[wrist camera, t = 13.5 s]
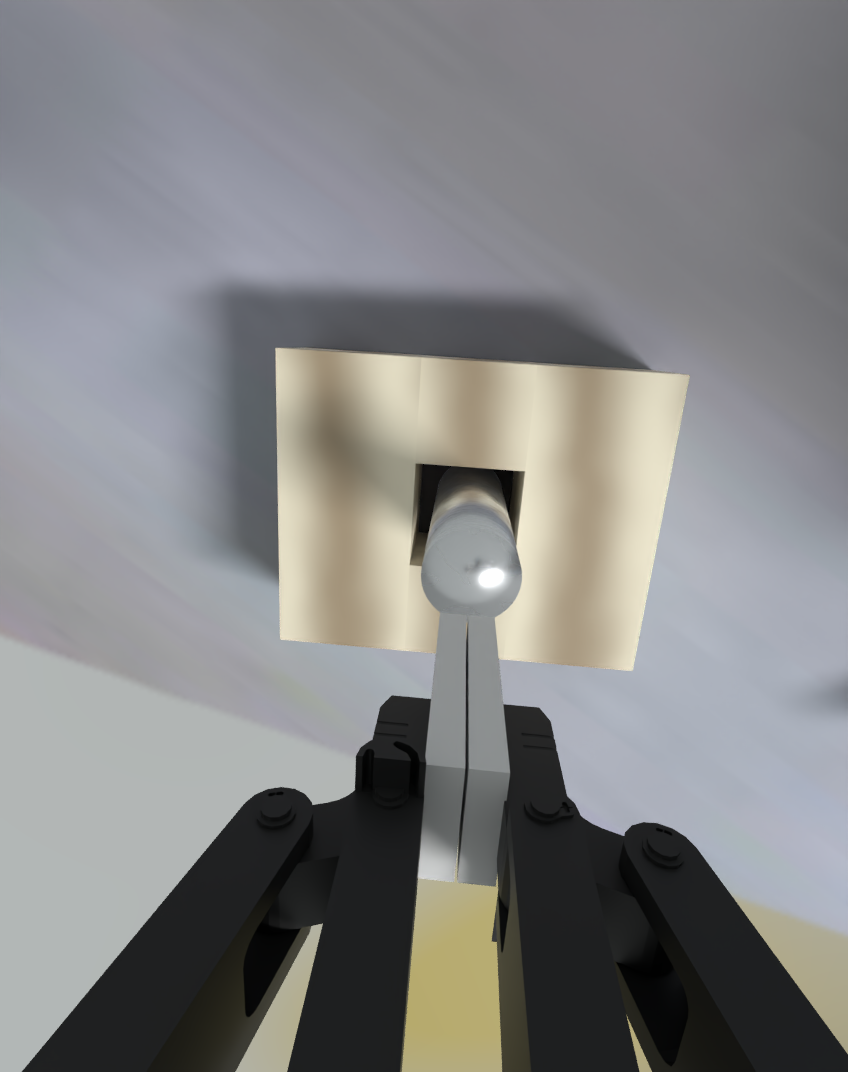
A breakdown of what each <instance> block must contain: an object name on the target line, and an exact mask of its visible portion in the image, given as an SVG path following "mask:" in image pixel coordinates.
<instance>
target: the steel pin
mask: <svg viewBox="0 0 848 1072" xmlns="http://www.w3.org/2000/svg"><path fill="white" fill-rule="evenodd" d="M421 582H422V587H423V591H424V593H425V595H426V597H427V599H428V600H429V602H430V603H431V604H432V605H433V607H434V608H435V609H437V610H438V611H439V612H440V613H452V614H463V615H466V622H467V623H468V615H475V616H487V617H497V616H498V615H500V614H502V613H503V612H504V611H505V610H507V609H508V608H509V607H510V606H511V605H512V603H513V602H514V600H515V599H516V597H517V595H518V593H519V591H520V588H521V583H522V568H521V564H520V560H519V556H518V552H517V548H516V544H515V540H514V536H513V532H512V527H511V523H510V519H509V515H508V511H507V507H506V503H505V499H504V495H503V491H502V487H501V483H500V480H499V478H498V476H497V475H496V473H495V472H494V471H493V470H492V469H486V468H473V467H459V466H452V467H450V468H449V469H448V470H447V471H446V472H445V473H444V474H443V476H442V478H441V479H440V482H439V485H438V489H437V494H436V499H435V504H434V509H433V514H432V519H431V524H430V529H429V534H428V539H427V543H426V548H425V553H424V558H423V563H422V569H421Z"/></svg>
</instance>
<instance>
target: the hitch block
mask: <svg viewBox="0 0 848 1072" xmlns="http://www.w3.org/2000/svg"><path fill="white" fill-rule="evenodd" d="M275 350H276V412H277V475H278V537H279V599H280V640H292V641H303V642H314V643H325V644H336V645H348V646H359V647H370V648H381V649H392V650H403V651H415V652H426V653H436V647H437V637H438V628H439V618H440V612H439V611H438V610H437V609H435V608H434V607H433V605H432V604H431V603H430V602H429V600H428V599H427V597H426V595H425V593H424V591H423V587H422V582H421V569H422V563H423V558H424V553H425V548H426V543H427V539H428V534H429V533H423V532H418V530H419V513H420V497H421V480H422V464H432V465H446V466H459V467H473V468H486V469H500V470H513V471H514V474H513V483H512V492H511V501H510V510H509V519H510V523H511V527H512V532H513V536H514V540H515V544H516V548H517V552H518V556H519V560H520V564H521V568H522V583H521V588H520V591H519V593H518V595H517V597H516V599H515V600H514V602H513V603H512V605H511V606H510V607H509V608H508V609H507V610H505V611H504V612H503V613H502V614H500V615H498V616H497V617H495V626H496V636H497V646H498V656H499V659H504V660H515V661H526V662H538V663H549V664H560V665H571V666H582V667H593V668H605V669H616V670H627V671H633V666H634V661H635V656H636V650H637V645H638V640H639V635H640V630H641V625H642V619H643V614H644V609H645V604H646V599H647V594H648V589H649V583H650V578H651V573H652V568H653V563H654V558H655V552H656V547H657V542H658V537H659V532H660V527H661V521H662V516H663V511H664V506H665V501H666V496H667V491H668V485H669V480H670V475H671V470H672V465H673V460H674V454H675V449H676V444H677V439H678V434H679V429H680V424H681V418H682V413H683V408H684V403H685V398H686V393H687V387H688V382H689V377H690V375H686V374H678V373H671V372H663V371H656V370H643V369H628V368H613V367H598V366H582V365H567V364H552V363H536V362H521V361H506V360H490V359H475V358H460V357H444V356H429V355H414V354H398V353H383V352H368V351H353V350H337V349H322V348H275ZM467 625H468V623H467V622H466V635H467Z"/></svg>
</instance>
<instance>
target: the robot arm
mask: <svg viewBox="0 0 848 1072" xmlns="http://www.w3.org/2000/svg"><path fill="white" fill-rule="evenodd" d="M457 847H458V874H457V877H458V878H457V882H458V883H468V884H477V885H487V886H495V885H496V879H497V873H498V897H497V906H496V913H495V920H494V928H493V935H492V941H493V942H497V953H498V976H499V977H498V978H499V1002H500V1026H501V1048H502V1072H639V1068H638V1064H637V1060H636V1055H635V1051H634V1046H633V1042H632V1038H631V1033H630V1029H629V1025H628V1021H627V1016H628V1019H629V1021H630V1023H631V1026H632V1028H633V1030H634V1032H635V1034H636V1037H637V1039H638V1041H639V1043H640V1046H641V1048H642V1050H643V1052H644V1055H645V1057H646V1059H647V1061H648V1063H649V1066H650V1068H651V1070H652V1072H848V1054H847V1053H846V1051H845V1050H844V1049H843V1047H842V1046H841V1045H840V1043H839V1042H838V1040H837V1039H836V1038H835V1036H834V1035H833V1034H832V1032H831V1031H830V1029H829V1028H828V1027H827V1025H826V1024H825V1023H824V1021H823V1020H822V1019H821V1017H820V1016H819V1014H818V1013H817V1012H816V1010H815V1009H814V1008H813V1006H812V1005H811V1004H810V1002H809V1001H808V999H807V998H806V997H805V995H804V994H803V993H802V991H801V990H800V989H799V987H798V986H797V984H796V983H795V982H794V980H793V979H792V978H791V976H790V975H789V973H788V972H787V971H786V969H785V968H784V967H783V966H782V964H781V963H780V961H779V960H778V958H777V957H776V956H775V955H774V953H773V952H772V950H771V949H770V948H769V946H768V945H767V943H766V942H765V941H764V939H763V938H762V937H761V935H760V934H759V933H758V931H757V930H756V929H755V927H754V926H753V924H752V923H751V922H750V921H749V919H748V918H747V916H746V915H745V913H744V912H743V911H742V909H741V908H740V907H739V905H738V904H737V903H736V901H735V900H734V898H733V897H732V896H731V894H730V893H729V892H728V890H727V889H726V888H725V886H724V885H723V883H722V882H721V881H720V879H719V878H718V877H717V875H716V874H715V872H714V871H713V870H712V868H711V867H710V866H709V864H708V863H707V862H706V860H705V859H704V857H703V856H702V855H701V853H700V852H699V851H698V849H697V848H696V847H695V846H694V845H693V844H692V843H691V842H690V841H689V840H688V839H687V838H686V837H685V836H683V835H682V834H680V833H679V832H677V831H675V830H674V829H672V828H669V827H666V826H663V825H661V824H658V823H645V822H643V823H639V824H636V825H632V826H631V827H630V828H629V829H628V830H627V831H626V832H625V836H622V835H619V834H616V833H613V832H610V831H608V830H605V829H602V828H600V827H598V826H596V825H593V824H592V823H590V822H588V821H587V820H585V819H584V818H583V817H581V816H580V813H579V811H578V809H577V807H576V805H575V803H574V802H573V801H572V800H570V799H569V798H568V797H567V794H566V789H565V785H564V780H563V776H562V771H561V767H560V762H559V758H558V753H557V751H556V744H555V740H554V735H553V731H552V726H551V722H550V720H549V719H548V718H547V717H546V715H545V714H544V713H543V712H542V711H541V709H540V708H537V707H526V706H515V705H504V704H503V696H502V686H501V676H500V666H499V656H498V646H497V636H496V626H495V617H487V616H475V615H468V625H467V635H466V615H463V614H452V613H440V618H439V628H438V637H437V647H436V657H435V667H434V676H433V686H432V696H431V699H424V698H413V697H402V696H391V697H390V698H389V699H388V700H387V701H386V702H385V703H384V704H383V705H382V706H381V707H380V711H379V715H378V719H377V724H376V727H375V732H374V736H373V740H371V741H369V742H368V743H366V744H365V745H364V746H362V747H361V748H360V750H359V752H358V753H357V755H356V778H355V791H354V792H352V793H351V794H350V795H348V796H346V797H344V798H342V799H340V800H337V801H333V802H329V803H323V804H317V805H312V802H311V801H310V800H309V798H308V797H307V796H306V795H305V794H304V793H302V792H300V791H298V790H296V789H291V788H282V787H280V788H273V789H267V790H265V791H263V792H260V793H258V794H256V795H254V796H253V797H252V798H251V799H250V800H248V801H247V802H246V803H245V804H244V805H243V806H242V807H241V809H240V810H239V811H238V812H237V813H236V815H235V816H234V817H233V819H231V821H230V822H229V823H228V824H227V825H226V827H225V828H224V829H223V830H222V831H221V833H220V834H219V835H218V836H217V837H216V839H215V840H214V841H213V842H212V844H211V845H210V846H209V847H208V848H207V849H206V851H205V852H204V853H203V854H202V855H201V857H200V858H199V859H198V860H197V862H196V863H195V864H194V865H193V866H192V868H191V869H190V870H189V871H188V873H187V874H186V875H185V876H184V877H183V878H182V880H181V881H180V882H179V883H178V885H177V886H176V887H175V888H174V889H173V890H172V892H171V893H170V894H169V895H168V896H167V898H166V899H165V900H164V901H163V902H162V904H161V905H160V906H159V907H158V908H157V910H156V911H155V912H154V913H153V914H152V916H151V917H150V918H149V919H148V921H147V922H146V923H145V924H144V925H143V927H142V928H141V929H140V930H139V931H138V933H137V934H136V935H135V936H134V937H133V939H132V940H131V941H130V942H129V943H128V945H127V946H126V947H125V949H123V951H122V952H121V953H120V954H119V956H118V957H117V958H116V959H115V960H114V961H113V963H112V964H111V965H110V966H109V967H108V969H107V970H106V971H105V972H104V974H103V975H102V976H101V977H100V978H99V980H98V981H97V982H96V983H95V984H94V986H93V987H92V988H91V989H90V990H89V992H88V993H87V994H86V995H85V997H84V998H83V999H82V1000H81V1001H80V1002H79V1004H78V1005H77V1006H76V1007H75V1009H74V1010H73V1011H72V1012H71V1013H70V1014H69V1016H68V1017H67V1018H66V1019H65V1020H64V1022H63V1023H62V1024H61V1025H60V1027H59V1028H58V1029H57V1030H56V1031H55V1033H54V1034H53V1035H52V1036H51V1037H50V1039H49V1040H48V1041H47V1042H46V1043H45V1045H44V1046H43V1047H42V1048H41V1049H40V1051H39V1052H38V1053H37V1054H36V1055H35V1057H34V1058H33V1059H32V1060H31V1061H30V1063H29V1064H28V1065H27V1066H26V1067H25V1069H24V1070H23V1071H22V1072H235V1071H236V1069H237V1068H238V1066H239V1064H240V1062H241V1060H242V1058H243V1056H244V1054H245V1052H246V1051H247V1049H248V1047H249V1045H250V1043H251V1041H252V1039H253V1037H254V1036H255V1034H256V1032H257V1030H258V1028H259V1026H260V1024H261V1022H262V1021H263V1019H264V1017H265V1015H266V1013H267V1011H268V1009H269V1007H270V1006H271V1004H272V1002H273V1000H274V998H275V996H276V994H277V992H278V991H279V989H280V987H281V985H282V983H283V981H284V979H285V977H286V976H287V974H288V972H289V970H290V968H291V966H292V964H293V962H294V960H295V959H296V957H297V955H298V953H299V951H300V949H301V947H302V946H303V944H304V942H305V940H306V938H307V936H308V934H309V932H310V929H311V926H313V925H318V924H322V923H323V926H322V930H321V934H320V939H319V943H318V947H317V951H316V955H315V959H314V963H313V967H312V972H311V976H310V980H309V985H308V988H307V992H306V997H305V1001H304V1005H303V1009H302V1013H301V1017H300V1022H299V1025H298V1030H297V1034H296V1038H295V1042H294V1046H293V1050H292V1054H291V1058H290V1062H289V1067H288V1071H287V1072H402V1061H403V1049H404V1037H405V1025H406V1014H407V1001H408V990H409V978H410V966H411V954H412V943H413V930H414V919H415V907H416V895H417V881H418V878H421V879H431V880H440V881H449V882H454V877H455V867H456V857H457ZM626 1015H627V1016H626Z"/></svg>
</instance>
